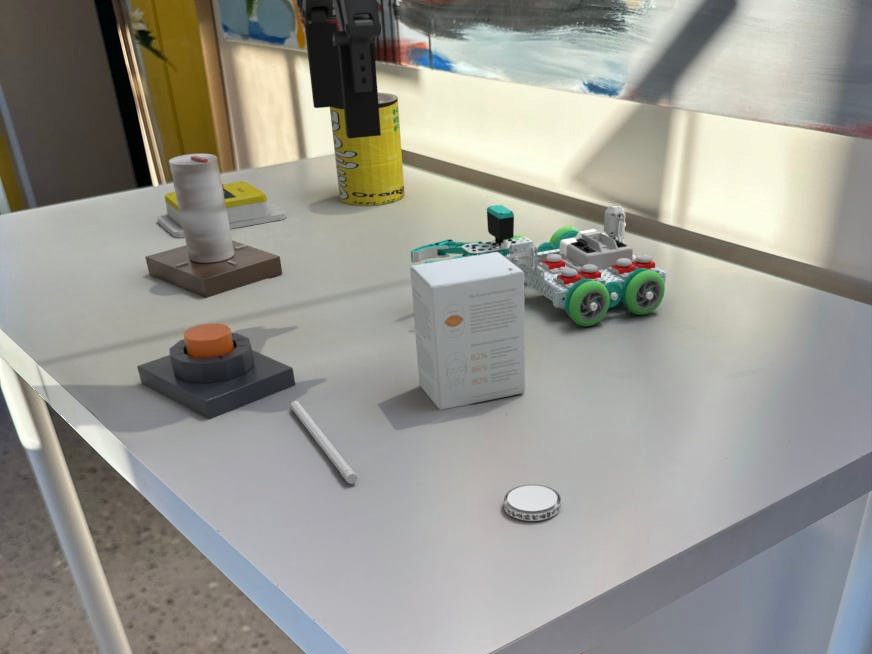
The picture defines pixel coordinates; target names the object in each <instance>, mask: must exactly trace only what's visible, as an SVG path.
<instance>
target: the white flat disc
mask: <svg viewBox="0 0 872 654" xmlns="http://www.w3.org/2000/svg"><path fill="white" fill-rule="evenodd" d="M561 504H562V497H561V495H560V493H559V492H558V491H557V490H555V489H553V488H552V487H549V486H546V485H542V484H524V485H519V486H515V487H514V488H511V489H510V490H508V491H507V492H506V493H505V494H504V497H503V509H504V511H505V512H506V513H507V514H508V516H510V517H512V518H514V519H517V520H521V521H527V522H537V521H544V520H548V519H550V518H552V517H554V516H556V515H557V514H558V513H559V512H560V510H561Z"/></svg>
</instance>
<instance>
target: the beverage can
mask: <svg viewBox="0 0 872 654" xmlns="http://www.w3.org/2000/svg"><path fill="white" fill-rule="evenodd" d="M378 104H379V117H380V131H381V136H370V137H359V138H348V137H347V135H346V125H345V114H344V106H335V107H329V113H330V122H331V132H332V138H333V139H332V142H333V150H334V158H335V167H336V177H337V187H338V194H339V195H338V196H339V201H341V202H342V203H345V204H348V205H352V206H353V205H354V206H380V205H387V204H391V203H395V202H399V201H400V200H402V199H404V198H405V181H404V168H403V167H404V166H403V152H402V141H401V140H402V138H401V125H400V113H399V112H400V111H399V99H398V96H397V94H393V93H387V92H378Z"/></svg>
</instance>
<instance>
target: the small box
mask: <svg viewBox="0 0 872 654" xmlns="http://www.w3.org/2000/svg"><path fill="white" fill-rule="evenodd" d="M449 259H450V260H448V259H443V260H444V261H441V260H437V261H438V262H432V263H426V264H425V263H421V264H420V263H419V264H414V265H411V266H410V269H409V272H410V284H411V285H410V287H411V297H412V308H413V323H414V325H413V326H414V335H415V346H416V347H415V348H416V359H417V360H416V361H417V362H416V363H417V373H418V383H419V386H420V388H421V389H422V390H423V392H424V393H425V394H426V395H427V396H428V398H430V400H431V401H432V402H433V403H434V405H435V406H436V408H438V410H440V411H442V410H447V409H452V408H458V407H462V406H468V405H472V404H477V403H482V402H483V403H484V402H486V401H492V400H497V399H502V398H507V397H512V396H516V395H521V394H524V393H525V392H526V381H525V380H526V373H525V372H526V371H525V369H526V368H525V367H526V365H525V364H526V363H525V361H526V360H525V359H526V357H525V355H526V354H525V282H524V272H523V271H522V270H521V269H519V268H518V267H517V266H516V265H514V264H513V263H512V262H510V261H509V260H508V259H506V258H505V257H504V256H502V255H501V254H500V253H498V252H493V253H487V254H481V255H478V254H477V255H475V256H469V257H463V258H457V259H451V258H449Z"/></svg>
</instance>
